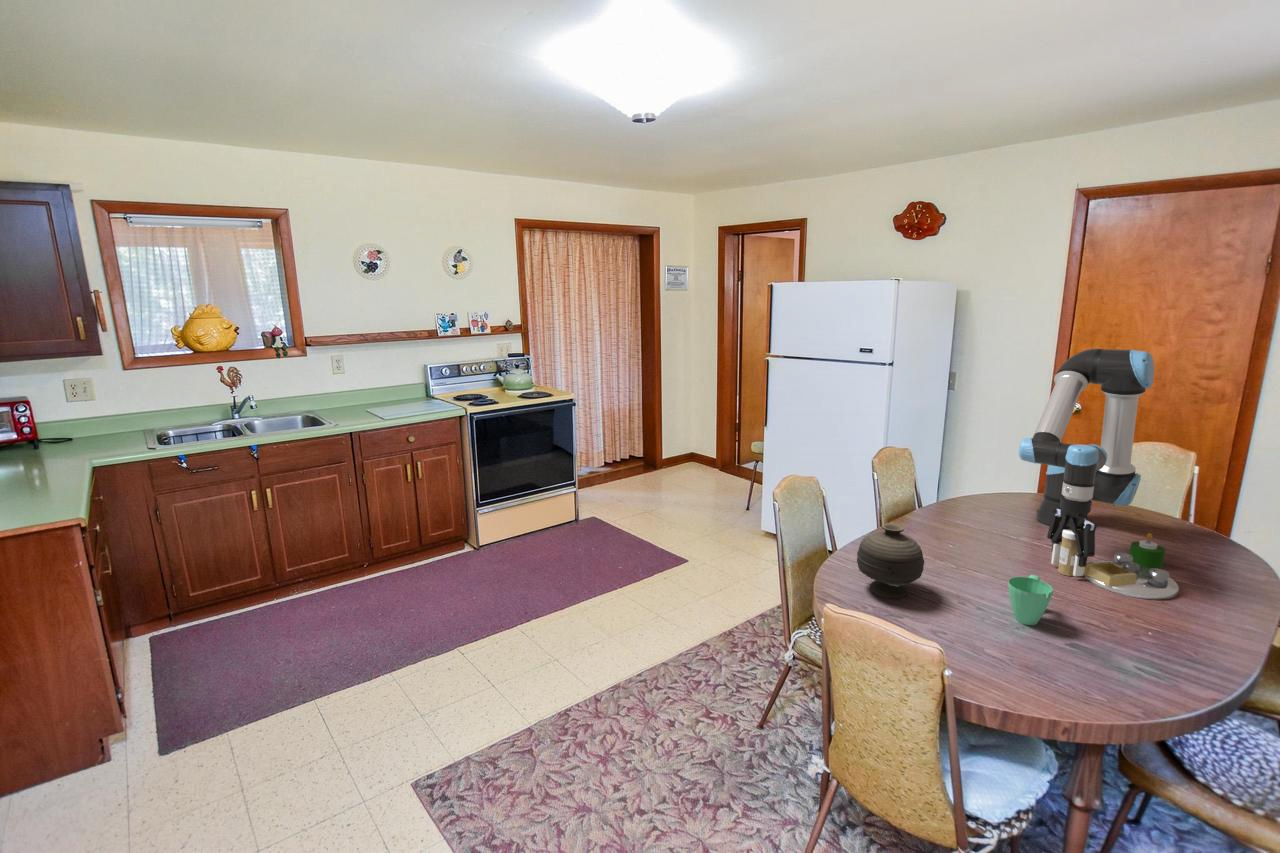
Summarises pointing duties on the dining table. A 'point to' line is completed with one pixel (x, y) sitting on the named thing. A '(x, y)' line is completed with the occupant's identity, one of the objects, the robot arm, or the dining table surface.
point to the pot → (890, 561)
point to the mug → (1029, 598)
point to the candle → (1147, 553)
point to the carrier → (1131, 578)
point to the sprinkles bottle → (1067, 553)
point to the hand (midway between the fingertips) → (1066, 569)
